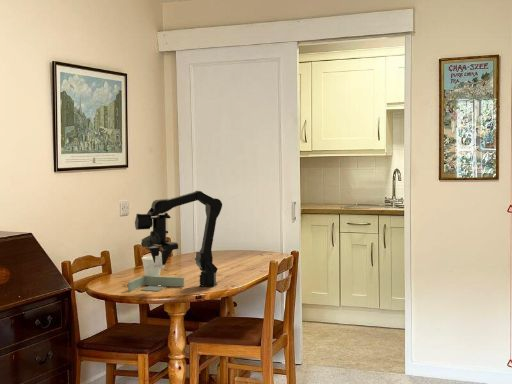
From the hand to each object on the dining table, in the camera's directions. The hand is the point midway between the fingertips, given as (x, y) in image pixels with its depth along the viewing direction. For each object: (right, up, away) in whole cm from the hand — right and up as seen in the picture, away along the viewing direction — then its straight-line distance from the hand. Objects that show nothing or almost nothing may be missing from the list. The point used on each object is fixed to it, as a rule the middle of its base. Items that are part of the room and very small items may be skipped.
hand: (159, 264), depth 295 cm
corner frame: (-1, -11, +3) cm, 11 cm away
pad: (-3, -11, +3) cm, 12 cm away
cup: (-6, -10, +21) cm, 24 cm away
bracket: (-2, -2, -2) cm, 3 cm away
